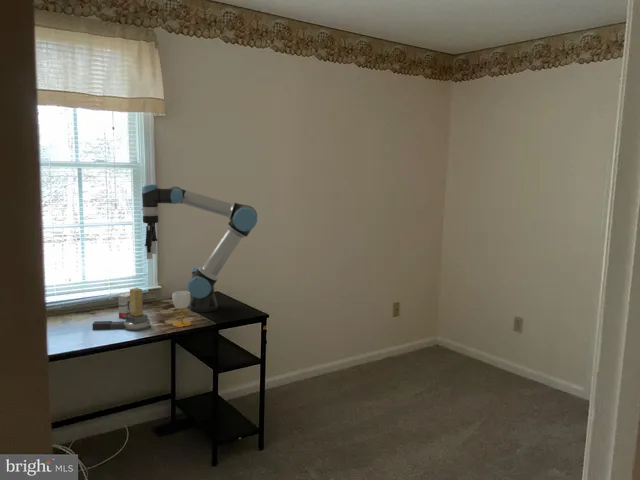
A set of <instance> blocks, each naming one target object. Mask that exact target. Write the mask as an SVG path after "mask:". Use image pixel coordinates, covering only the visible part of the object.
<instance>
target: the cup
mask: <svg viewBox="0 0 640 480" xmlns="http://www.w3.org/2000/svg"><path fill="white" fill-rule="evenodd" d="M191 298H192V295H191V294H190V292H189V291H188V290H177V291H174V292H172V295H171V299H172V303H173V305H174V307H175V309H176V310H177V311H180V320H179V321H175V322H173V323H172V326H174V327H176V328H184V327H183V326H186V327H189V326H191V325H192V322H190V321H187V320H183V319H184V318H183V313H184V312H183V311H184V310H186V309H187V308H189V304H190V301H191Z"/></svg>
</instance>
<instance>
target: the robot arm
mask: <svg viewBox="0 0 640 480" xmlns="http://www.w3.org/2000/svg"><path fill="white" fill-rule="evenodd" d="M141 197H142V199H141V200H142V208H141V211H142V214H143V215H142V222H143V224H147V225H146V226H145V228H146V229H145V232H146V233H145V244H144V247H145V248H146V251H145V252H146V260H152V259H153V255H157V242H158V238H157V230H156V224H157V223H159V204H172V205H173V204H174V205H176V204H180V205H181V204H182V205H184V206H190V207H193V208H196V209H199V210H202V211H206V212H209V213H212V214H216V215H220V216H223V217H226V218H228V219H229V222H228V223H227V227H228V229H227V230H226V231H225V233H224V234H223V236H222V238H221V239H220V240H219V242H218V244H217V245H216V246H215V248H214V249H213V251H212V253H211V254H210V255H209V257H208V258H207V260H206V261H205V263H204V264H203V265H202V266H197V267H193V268H192V270H191V276H192V277H191V278H190V279H189V281H188V283H187V291H188V292H190V295H191V299H190V304H189V306H188V308H189V310H190V311H191V312H197V313H207V312H213V311H216V310H217V309H218V302H217V301H218V300H217V298H216V296H215V285H216V283H217V281H218V279H219V278H218V275H219V273H220V271H222V269H223V267H224V266H225V264H226V263H227V261H228V260H229V258H230V257H231V256H232V254H233V252H234V251H235V250H236V248H237V247H238V245H239V243H240V242H241V241H242V239H243V238H247V237H248V235H249V234H250V233H251V231H252V230H253V229H254V228H255V227H256V225H257V223H258V213H257V211H256V209H255V208H254V207H253V206H251V205H248V204H242V203H237V202H233V203H231V202H227V201H223V200H221V199H217V198H215V197H211V196H207V195H205V194H204V195H203V194H200V193H197V192H193V191H190V190H187V189H183V188H181V187H179V186H172V187H170V188H161V187H158V184H156V183H155V184H154V183H150V184H149V183H147V184H146V183H145V184H143V185H142V188H141Z"/></svg>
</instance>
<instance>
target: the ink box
mask: <svg viewBox="0 0 640 480" xmlns="http://www.w3.org/2000/svg"><path fill="white" fill-rule="evenodd" d="M117 298H118V299H117V300H118V318H119V319H126V315H130V314H131V310H130V291H126V292H124V293H121V294H119V295H118V297H117Z"/></svg>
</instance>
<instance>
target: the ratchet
mask: <svg viewBox="0 0 640 480" xmlns="http://www.w3.org/2000/svg"><path fill="white" fill-rule="evenodd" d="M148 316H149V315H148V314H146V313H143V316H140V317H136V318H135V317H132V316H131V314H130V315H126V318H125V320H123V321H121V320H120V321H118V320H117V321H113V320H98V321H97V320H95V321H93V322H92V325H91V326H92V331H95V330H96V331H97V330H99V331H100V330H101V331H102V330H103V331H104V330H124V331H127V332H141V331H146V330H147V329H149V328H150V327H151V320H150V319H149V318H148Z"/></svg>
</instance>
